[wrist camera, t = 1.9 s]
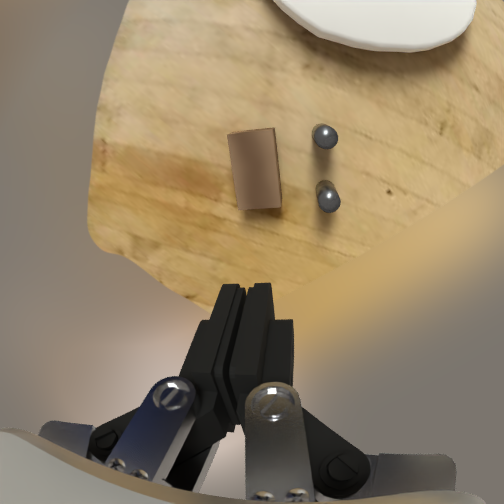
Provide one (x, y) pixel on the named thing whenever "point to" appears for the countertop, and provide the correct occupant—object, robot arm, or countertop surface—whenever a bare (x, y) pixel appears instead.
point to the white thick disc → (383, 22)
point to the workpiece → (255, 168)
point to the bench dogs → (325, 188)
